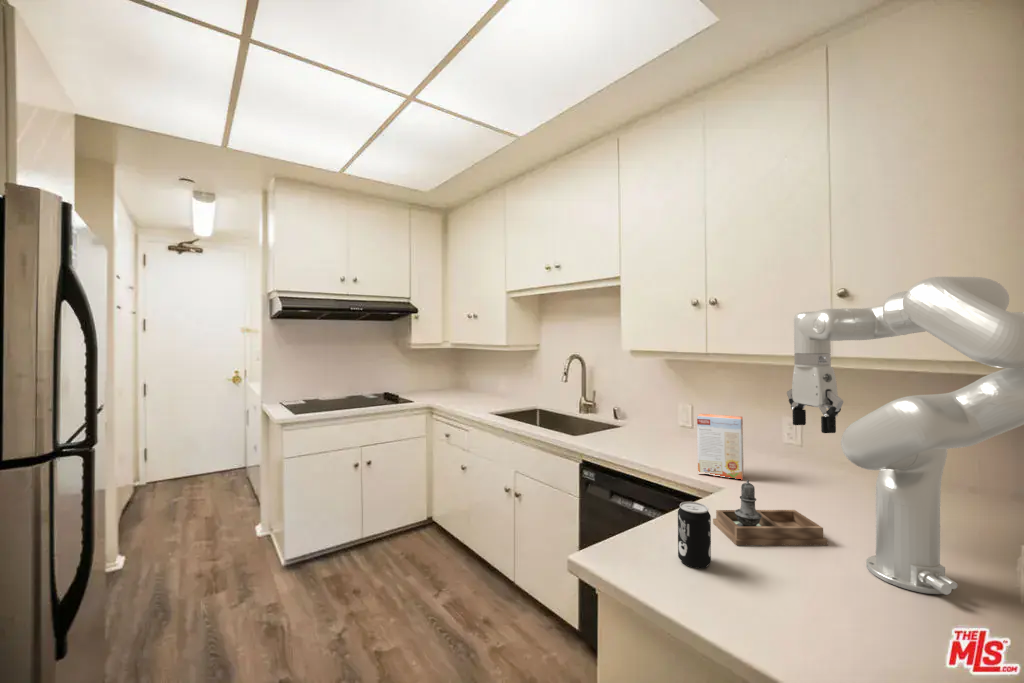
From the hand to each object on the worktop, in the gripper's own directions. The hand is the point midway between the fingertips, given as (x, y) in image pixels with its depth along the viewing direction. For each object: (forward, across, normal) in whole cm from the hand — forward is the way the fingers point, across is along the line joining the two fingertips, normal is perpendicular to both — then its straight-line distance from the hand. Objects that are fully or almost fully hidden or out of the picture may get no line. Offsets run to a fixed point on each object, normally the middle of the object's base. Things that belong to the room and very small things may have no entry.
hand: (813, 428), depth 108 cm
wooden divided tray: (+25, -2, +14) cm, 29 cm away
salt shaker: (+24, -2, +18) cm, 30 cm away
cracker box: (+25, +42, +1) cm, 49 cm away
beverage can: (+26, -13, +38) cm, 47 cm away
